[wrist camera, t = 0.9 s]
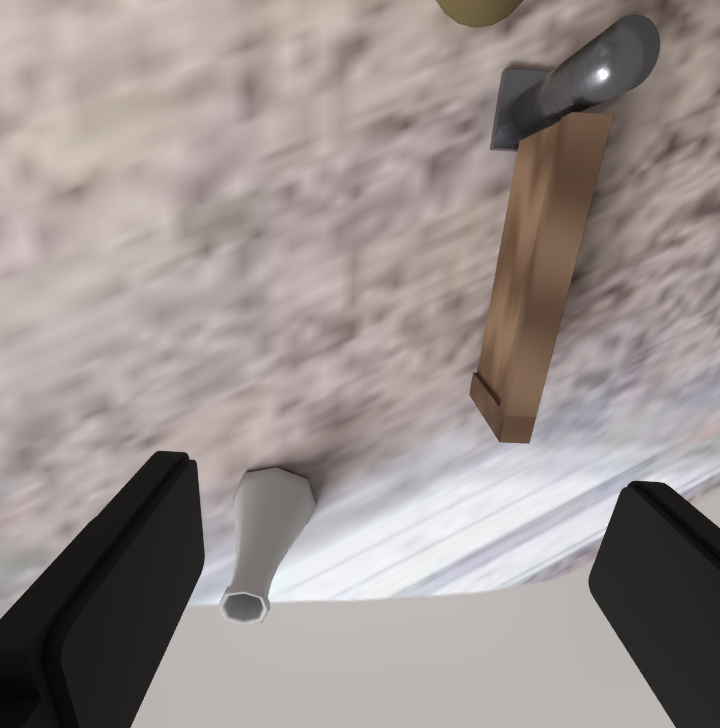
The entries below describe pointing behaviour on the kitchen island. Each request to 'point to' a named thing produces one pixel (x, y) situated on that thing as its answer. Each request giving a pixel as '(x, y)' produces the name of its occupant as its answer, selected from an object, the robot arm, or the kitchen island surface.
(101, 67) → the kitchen island surface
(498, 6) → the olive rounded lobed piece
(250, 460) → the kitchen island surface
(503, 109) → the grey upright posts
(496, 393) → the brown wooden plank
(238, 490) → the flask
